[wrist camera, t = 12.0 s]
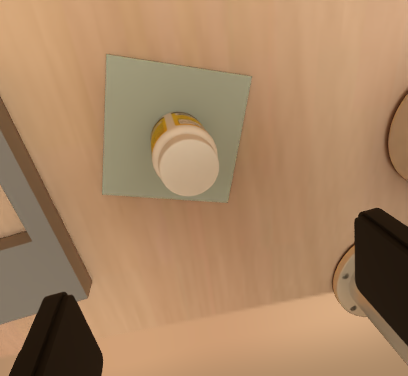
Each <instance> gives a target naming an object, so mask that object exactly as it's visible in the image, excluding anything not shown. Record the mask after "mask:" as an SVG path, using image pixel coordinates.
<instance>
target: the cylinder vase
mask: <svg viewBox="0 0 408 376" xmlns="http://www.w3.org/2000/svg"><path fill="white" fill-rule="evenodd" d="M388 148H389V155H390V159H391V161H392V164H393V166H394V168H395V169H396V171H397V172H398V173H399V174H400V175H401V176H402V177H403V178H404V179H406V180H407V181H408V94H407V95H406V97H405V98H404V99H403V101H402V102H401V104H400V106H399V107H398V109H397V111H396V113H395V115H394V118H393V121H392V124H391V127H390V132H389V139H388Z"/></svg>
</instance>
